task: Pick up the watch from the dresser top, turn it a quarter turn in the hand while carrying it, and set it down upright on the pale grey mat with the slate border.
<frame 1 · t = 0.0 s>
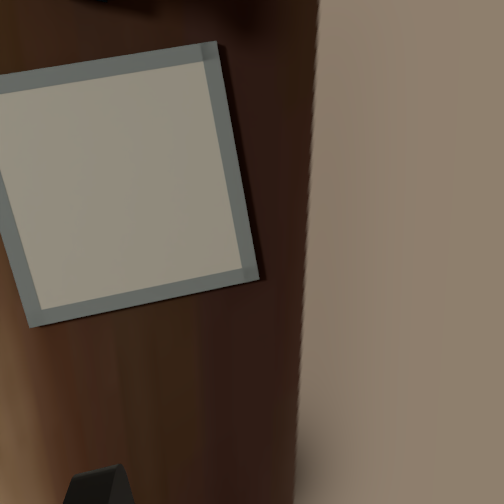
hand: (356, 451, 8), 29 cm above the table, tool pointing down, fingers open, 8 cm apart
mat: (121, 188, 35), on the table
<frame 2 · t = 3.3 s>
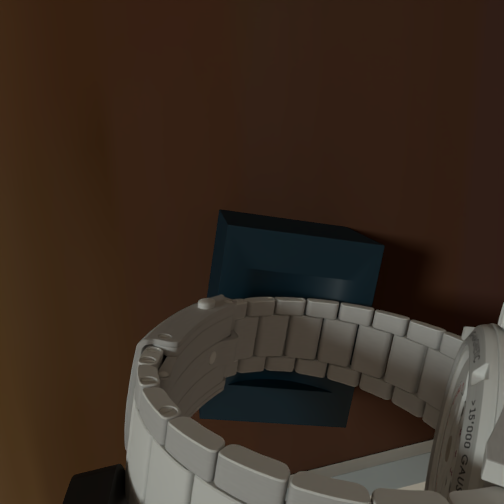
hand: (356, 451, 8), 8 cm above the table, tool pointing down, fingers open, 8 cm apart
watch: (272, 295, 16), on the table, touching gripper
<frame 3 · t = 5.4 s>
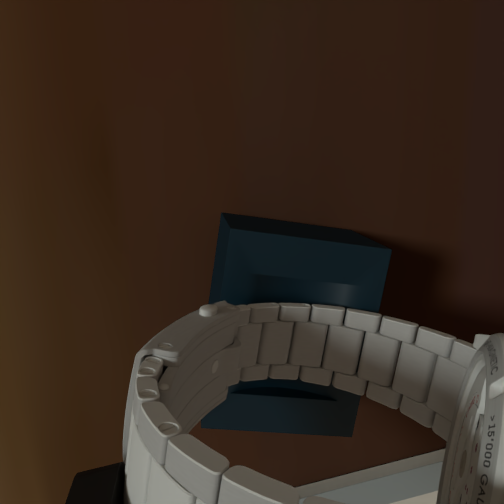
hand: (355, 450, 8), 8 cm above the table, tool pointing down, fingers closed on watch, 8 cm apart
watch: (276, 300, 16), on the table, touching gripper
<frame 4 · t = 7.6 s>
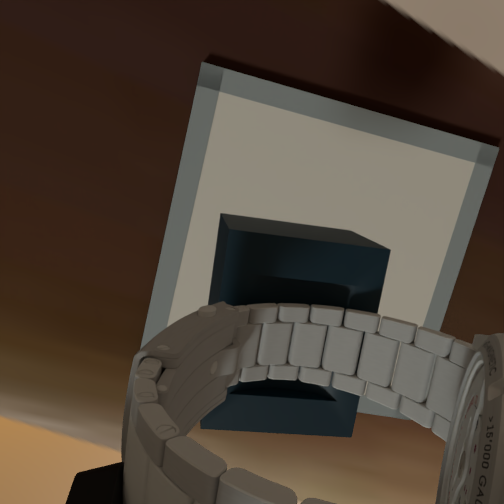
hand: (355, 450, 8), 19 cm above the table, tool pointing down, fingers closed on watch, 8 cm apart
watch: (275, 300, 16), point 12 cm above the table, touching gripper
mat: (315, 259, 28), on the table
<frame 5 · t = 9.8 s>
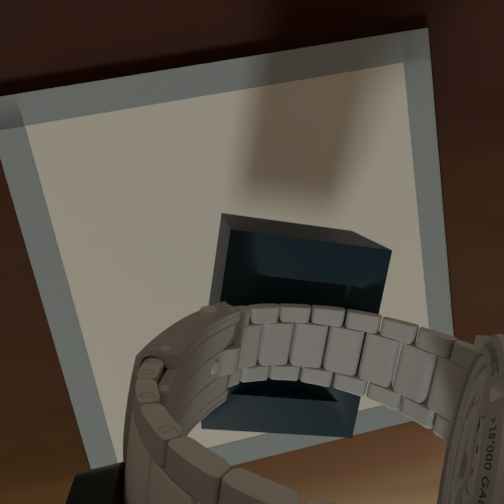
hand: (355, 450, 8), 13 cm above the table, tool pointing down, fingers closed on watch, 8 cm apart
watch: (276, 300, 16), point 6 cm above the table, touching gripper
mat: (252, 272, 21), on the table
when the fingers open (8 cm above the table, at t = 11.9 s): watch stays where it is, resting on mat.
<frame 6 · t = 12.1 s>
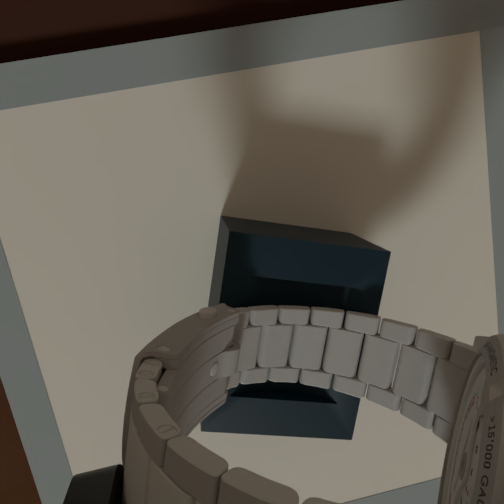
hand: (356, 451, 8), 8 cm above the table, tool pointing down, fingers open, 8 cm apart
watch: (275, 303, 16), resting on mat, touching gripper
mat: (274, 309, 16), on the table
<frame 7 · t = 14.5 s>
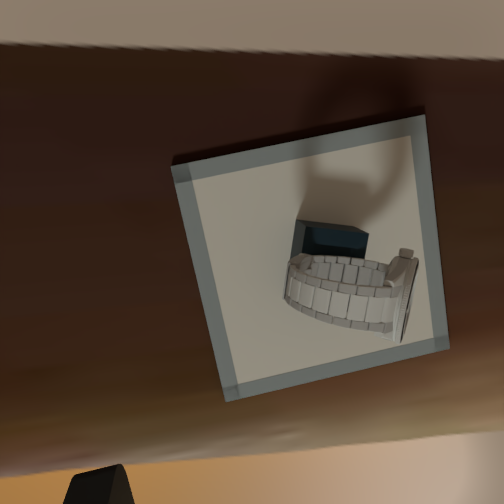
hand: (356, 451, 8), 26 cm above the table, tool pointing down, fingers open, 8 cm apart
watch: (319, 258, 34), resting on mat
mat: (318, 262, 35), on the table
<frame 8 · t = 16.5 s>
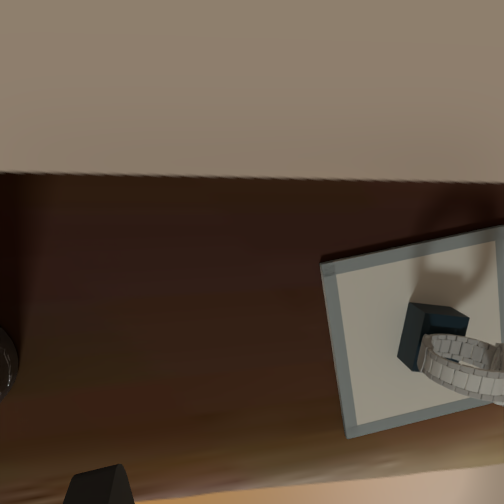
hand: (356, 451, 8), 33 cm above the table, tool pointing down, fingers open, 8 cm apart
watch: (423, 330, 45), resting on mat
mat: (421, 332, 45), on the table
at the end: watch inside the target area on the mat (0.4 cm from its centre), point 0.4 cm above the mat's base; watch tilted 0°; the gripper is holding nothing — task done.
